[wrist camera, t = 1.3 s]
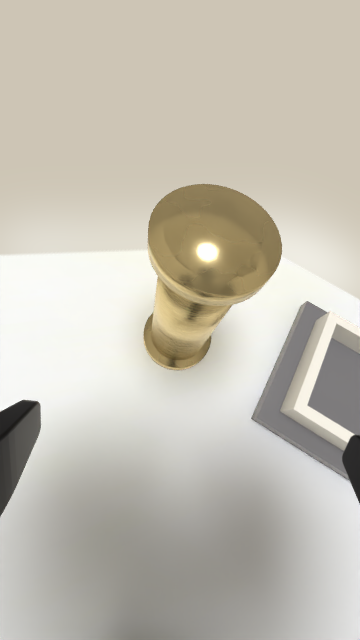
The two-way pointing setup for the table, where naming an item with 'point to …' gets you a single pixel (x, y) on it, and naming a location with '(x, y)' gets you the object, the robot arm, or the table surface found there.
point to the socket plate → (315, 387)
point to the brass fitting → (204, 267)
